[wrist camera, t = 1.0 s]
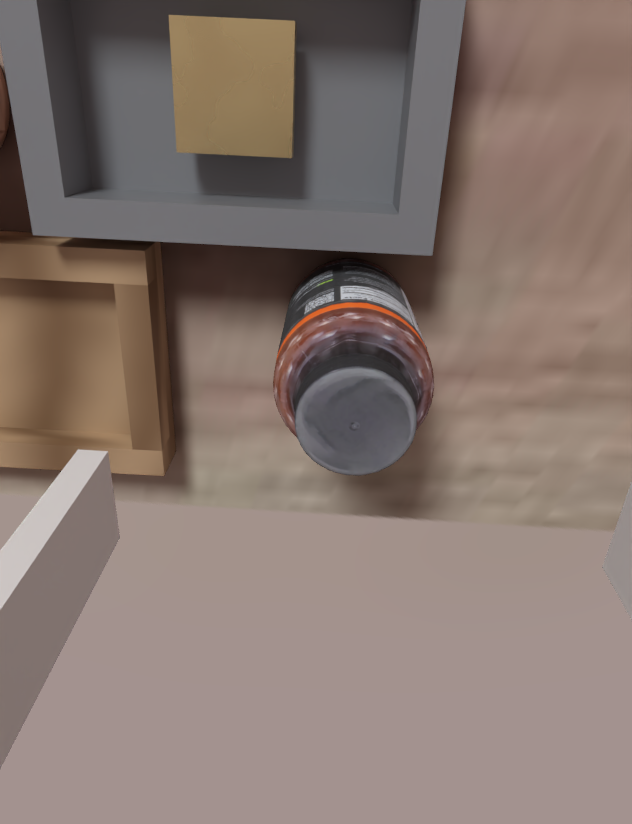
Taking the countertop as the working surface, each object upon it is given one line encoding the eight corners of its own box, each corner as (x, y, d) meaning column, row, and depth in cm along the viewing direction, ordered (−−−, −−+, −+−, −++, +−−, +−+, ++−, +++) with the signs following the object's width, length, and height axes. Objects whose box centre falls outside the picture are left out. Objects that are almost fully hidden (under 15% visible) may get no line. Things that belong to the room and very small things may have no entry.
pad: (182, 150, 24) (176, 152, 23) (175, 18, 22) (168, 15, 21) (293, 156, 24) (292, 158, 23) (297, 24, 22) (295, 20, 21)
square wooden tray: (-39, 438, 33) (-66, 463, 31) (-96, 226, 28) (-133, 236, 26) (176, 451, 33) (164, 476, 31) (160, 239, 28) (144, 251, 26)
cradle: (72, 217, 28) (33, 235, 24) (30, -86, 23) (-28, -121, 19) (420, 235, 27) (432, 255, 24) (456, -66, 22) (478, -98, 19)
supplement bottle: (362, 392, 31) (373, 531, 21) (265, 331, 30) (227, 448, 20) (435, 300, 29) (486, 406, 19) (333, 229, 27) (329, 302, 17)
